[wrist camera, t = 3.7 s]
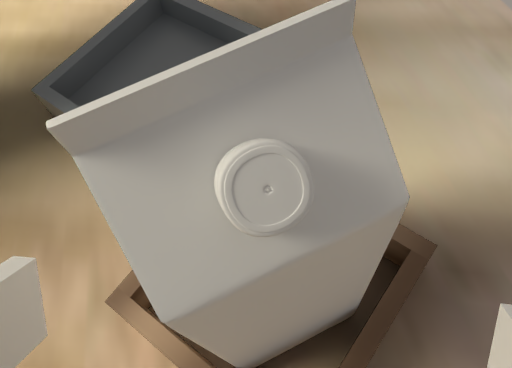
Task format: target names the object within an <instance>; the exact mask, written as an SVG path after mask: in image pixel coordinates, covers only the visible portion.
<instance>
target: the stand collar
mask: <svg viewBox="0 0 512 368" xmlns="http://www.w3.org/2000/svg"><path fill="white" fill-rule="evenodd" d="M436 247H437V245H436V244H434V243H432V242H430V241H429V240H427V239H425V238H423V237H422V236H420V235H418V234H416V233H415V232H413V231H411V230H409V229H408V228H406V227H404V226H402V225H401V224H398V226H397V228H396V230H395V232H394V234H393V236H392V238H391V240H390V242H389V244H388V246H387V248H386V250H385V252H384V254H383V256H384V257H386V258H387V259H389V260H390V261H392V262H394V263H395V264H397V265H399V266H400V268H399V270H398V271H397V273H396V275H395V276H394V278H393V280H392V281H391V283H390V285H389V286H388V288H387V289H386V291H385V293H384V294H383V296H382V298H381V299H380V301H379V303H378V304H377V306H376V307H375V309H374V311H373V312H372V314H371V316H370V317H369V319H368V321H367V322H366V324H365V325H364V327H363V329H362V330H361V332H360V334H359V335H358V337H357V339H356V340H355V342H354V343H353V345H352V347H351V348H350V350H349V352H348V353H347V355H346V357H345V358H344V360H343V361H342V363H341V365H340V366H339V368H366V366H367V365H368V363H369V361H370V360H371V358H372V356H373V354H374V353H375V351H376V349H377V348H378V346H379V344H380V342H381V341H382V339H383V337H384V336H385V334H386V332H387V331H388V329H389V327H390V325H391V324H392V322H393V320H394V319H395V317H396V315H397V314H398V312H399V310H400V308H401V307H402V305H403V303H404V302H405V300H406V298H407V296H408V295H409V293H410V291H411V290H412V288H413V286H414V285H415V283H416V281H417V279H418V278H419V276H420V274H421V273H422V271H423V269H424V267H425V266H426V264H427V262H428V261H429V259H430V257H431V256H432V254H433V252H434V250H435V249H436ZM105 303H106V304H108V305H109V306H110V307H111V308H112V309H113V310H114V311H115V312H117V313H118V314H119V315H120V316H121V317H122V318H123V319H124V320H126V321H127V322H128V323H129V324H130V325H131V326H132V327H133V328H135V329H136V330H137V331H138V332H139V333H140V334H141V335H142V336H143V337H145V338H146V339H147V340H148V341H149V342H150V343H151V344H152V345H154V346H155V347H156V348H157V349H158V350H159V351H160V352H161V353H163V354H164V355H165V356H166V357H167V358H168V359H169V360H170V361H172V362H173V363H174V364H175V365H176V366H177V367H178V368H216V367H215V366H214V365H213V364H212V363H210V362H209V361H208V360H207V359H206V358H205V357H203V356H202V355H201V354H200V353H199V352H198V351H196V350H195V349H194V348H193V347H192V346H191V345H189V344H188V343H187V342H186V341H185V340H184V339H182V338H181V337H180V336H179V335H178V334H177V333H175V332H174V331H173V330H172V329H171V328H169V327H168V326H167V325H166V324H165V323H162V322H161V321H160V319H159V318H158V317H157V316H155V315H154V314H153V313H152V312H151V311H150V310H148V308H149V307H150V306H151V303H150V301H149V299H148V297H147V295H146V294H145V292H144V290H143V288H142V286H141V284H140V282H139V281H138V279H137V277H136V275H135V273H134V271H133V270H132V271H131V272H130V273H129V274H128V275H127V277H126V278H125V279H124V280H123V281H122V282H121V284H120V285H119V286H118V287H117V288H116V289H115V290H114V292H113V293H112V294H111V295H110V296H109V297H108V298H107V300H106V301H105Z"/></svg>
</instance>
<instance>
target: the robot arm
mask: <svg viewBox="0 0 512 368" xmlns="http://www.w3.org/2000/svg"><path fill="white" fill-rule="evenodd" d="M47 335H48V334H47V328H46V321H45V315H44V308H43V302H42V295H41V289H40V282H39V276H38V269H37V263H36V258H30V257H20V256H12V257H11V258H9V259H7V260H6V261H4V262H3V263H1V264H0V368H15V367H16V366H17V365H18V364H19V363H20V362H21V361H22V360H23V359H24V358H25V357H26V356H27V355H28V354H29V353H30V352H31V351H32V350H33V349H34V348H35V347H36V346H37V345H38V344H39V343H40V342H41V341H42V340H43V339H44V338H45V337H46V336H47ZM487 368H512V304H501V303H500V308H499V312H498V317H497V322H496V327H495V332H494V336H493V341H492V346H491V351H490V355H489V360H488V365H487Z"/></svg>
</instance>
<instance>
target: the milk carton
mask: <svg viewBox="0 0 512 368" xmlns="http://www.w3.org/2000/svg"><path fill="white" fill-rule="evenodd" d="M355 5H356V0H331V1H329V2H326V3H324V4H322V5H319V6H317V7H314V8H312V9H310V10H307V11H305V12H303V13H300V14H298V15H296V16H293V17H291V18H288V19H286V20H284V21H281V22H279V23H277V24H274V25H272V26H270V27H267V28H265V29H263V30H260V31H258V32H255V33H253V34H251V35H248V36H246V37H244V38H241V39H239V40H237V41H234V42H232V43H229V44H227V45H225V46H222V47H220V48H218V49H215V50H213V51H211V52H208V53H206V54H203V55H201V56H199V57H196V58H194V59H192V60H189V61H187V62H185V63H182V64H180V65H177V66H175V67H173V68H170V69H168V70H166V71H163V72H161V73H159V74H156V75H154V76H151V77H149V78H147V79H144V80H142V81H140V82H137V83H135V84H133V85H130V86H128V87H125V88H123V89H121V90H118V91H116V92H114V93H111V94H109V95H107V96H104V97H102V98H99V99H97V100H95V101H92V102H90V103H88V104H85V105H83V106H81V107H78V108H76V109H73V110H71V111H69V112H66V113H64V114H62V115H59V116H57V117H55V118H52V119H50V120H47V121H46V127H47V130H48V131H49V132H50V133H51V134H52V135H53V136H54V138H55V139H56V140H57V141H58V142H59V143H60V144H61V145H62V146H63V147H64V148H65V149H66V150H67V152H68V153H69V154H70V155H71V156H72V158H73V159H74V161H75V163H76V165H77V167H78V169H79V171H80V172H81V174H82V176H83V178H84V180H85V182H86V184H87V185H88V187H89V189H90V191H91V193H92V195H93V197H94V199H95V200H96V202H97V204H98V206H99V208H100V210H101V212H102V213H103V215H104V217H105V219H106V221H107V223H108V225H109V226H110V228H111V230H112V232H113V234H114V236H115V238H116V240H117V241H118V243H119V245H120V247H121V249H122V251H123V253H124V254H125V256H126V258H127V260H128V262H129V264H130V266H131V268H132V269H133V271H134V273H135V275H136V277H137V279H138V281H139V282H140V284H141V286H142V288H143V290H144V292H145V294H146V295H147V297H148V299H149V301H150V303H151V305H152V307H153V309H154V310H155V312H156V314H157V316H158V318H159V319H160V321H161V322H162V323H165V324H166V325H167V326H168V327H170V328H171V329H173V330H175V331H176V332H178V333H180V334H181V335H183V336H185V337H186V338H188V339H190V340H191V341H193V342H195V343H196V344H198V345H200V346H201V347H203V348H205V349H206V350H208V351H210V352H211V353H213V354H215V355H217V356H218V357H220V358H222V359H223V360H225V361H227V362H228V363H230V364H232V365H233V366H235V367H237V368H255V367H257V366H259V365H261V364H263V363H264V362H266V361H268V360H270V359H272V358H274V357H276V356H278V355H280V354H282V353H283V352H285V351H287V350H289V349H291V348H293V347H295V346H297V345H299V344H300V343H302V342H304V341H306V340H308V339H310V338H312V337H314V336H316V335H317V334H319V333H321V332H323V331H325V330H327V329H329V328H331V327H333V326H335V325H336V324H338V323H340V322H342V321H344V320H346V319H348V318H349V317H351V316H353V315H354V314H355V312H356V310H357V308H358V306H359V304H360V302H361V300H362V298H363V295H364V293H365V291H366V289H367V287H368V285H369V283H370V281H371V279H372V277H373V275H374V273H375V271H376V269H377V267H378V265H379V263H380V261H381V259H382V257H383V254H384V252H385V250H386V248H387V246H388V244H389V242H390V240H391V238H392V236H393V234H394V232H395V230H396V228H397V226H398V224H399V222H400V219H401V217H402V215H403V213H404V211H405V208H406V206H407V204H408V201H409V198H410V197H409V193H408V190H407V187H406V184H405V182H404V179H403V176H402V173H401V170H400V167H399V165H398V162H397V159H396V156H395V153H394V151H393V148H392V145H391V142H390V139H389V136H388V134H387V131H386V128H385V125H384V122H383V119H382V117H381V114H380V111H379V108H378V105H377V103H376V100H375V97H374V94H373V91H372V88H371V86H370V83H369V80H368V77H367V74H366V71H365V69H364V66H363V63H362V60H361V57H360V54H359V52H358V49H357V46H356V43H355V40H354V38H353V35H352V30H353V22H354V13H355Z"/></svg>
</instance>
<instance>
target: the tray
mask: <svg viewBox="0 0 512 368" xmlns="http://www.w3.org/2000/svg"><path fill="white" fill-rule="evenodd" d="M260 30H262V29H260V28H258V27H256V26H253V25H251V24H249V23H247V22H244V21H242V20H240V19H238V18H235V17H233V16H231V15H229V14H226V13H224V12H222V11H220V10H217V9H215V8H213V7H210V6H208V5H206V4H204V3H201V2H199V1H197V0H135V1H134V2H133V3H132V4H131V5H130V6H128V7H127V8H126V9H125V10H124V11H123V12H121V13H120V14H119V15H118V16H117V17H116V18H114V19H113V20H112V21H111V22H110V23H109V24H107V25H106V26H105V27H104V28H103V29H101V30H100V31H99V32H98V33H97V34H96V35H94V36H93V37H92V38H91V39H90V40H89V41H87V42H86V43H85V44H84V45H83V46H82V47H80V48H79V49H78V50H77V51H76V52H75V53H73V54H72V55H71V56H70V57H69V58H68V59H66V60H65V61H64V62H63V63H62V64H60V65H59V66H58V67H57V68H56V69H55V70H53V71H52V72H51V73H50V74H49V75H48V76H46V77H45V78H44V79H43V80H42V81H41V82H39V83H38V84H37V85H36V86H35V87H34V88H32V89H31V91H32V92H33V93H34V94H35V96H36V97H37V98H38V99H39V100H40V101H41V102H42V104H43V105H44V106H45V107H46V108H47V109H48V111H49V112H50V113H51V114H52V115H53V116H55V117H57V116H59V115H62V114H64V113H66V112H69V111H71V110H73V109H76V108H78V107H81V106H83V105H85V104H88V103H90V102H92V101H95V100H97V99H99V98H102V97H104V96H107V95H109V94H111V93H114V92H116V91H118V90H121V89H123V88H125V87H128V86H130V85H133V84H135V83H137V82H140V81H142V80H144V79H147V78H149V77H151V76H154V75H156V74H159V73H161V72H163V71H166V70H168V69H170V68H173V67H175V66H177V65H180V64H182V63H185V62H187V61H189V60H192V59H194V58H196V57H199V56H201V55H203V54H206V53H208V52H211V51H213V50H215V49H218V48H220V47H222V46H225V45H227V44H229V43H232V42H234V41H237V40H239V39H241V38H244V37H246V36H248V35H251V34H253V33H255V32H258V31H260Z"/></svg>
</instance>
